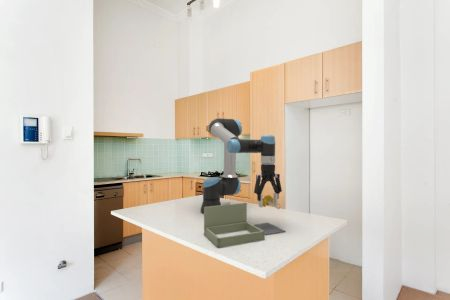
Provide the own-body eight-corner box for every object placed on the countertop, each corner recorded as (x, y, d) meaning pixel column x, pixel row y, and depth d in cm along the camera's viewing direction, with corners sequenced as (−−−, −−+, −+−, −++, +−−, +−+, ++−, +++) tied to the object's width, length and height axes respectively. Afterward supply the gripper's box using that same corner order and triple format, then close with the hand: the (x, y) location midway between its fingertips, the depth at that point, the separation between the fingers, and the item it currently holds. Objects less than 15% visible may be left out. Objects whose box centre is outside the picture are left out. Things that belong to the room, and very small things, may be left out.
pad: (249, 226, 137) (249, 225, 137) (267, 223, 142) (267, 222, 142) (265, 235, 122) (265, 234, 122) (285, 232, 127) (285, 230, 127)
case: (204, 234, 123) (204, 204, 123) (245, 228, 133) (245, 200, 133) (218, 248, 106) (218, 213, 106) (264, 239, 116) (264, 208, 116)
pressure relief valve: (256, 205, 131) (266, 202, 139) (276, 213, 123) (285, 209, 131) (258, 195, 130) (267, 193, 138) (278, 202, 123) (287, 199, 131)
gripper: (254, 164, 123) (254, 209, 123) (288, 163, 132) (288, 205, 132) (246, 164, 130) (247, 206, 130) (280, 163, 139) (280, 202, 139)
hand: (268, 206), depth 131 cm, fingers closed on pressure relief valve, 9 cm apart
